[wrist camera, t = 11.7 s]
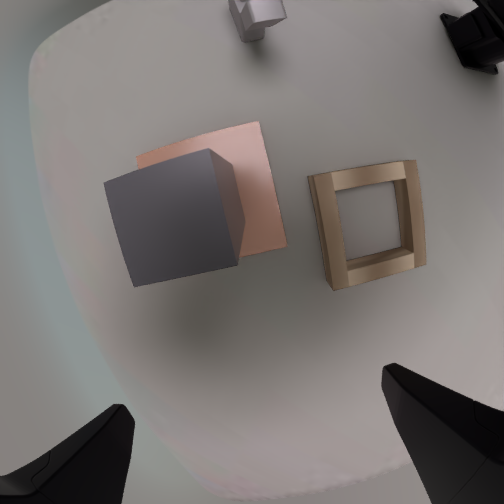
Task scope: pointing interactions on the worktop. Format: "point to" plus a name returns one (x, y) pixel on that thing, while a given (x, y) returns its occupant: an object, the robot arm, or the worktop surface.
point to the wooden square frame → (331, 232)
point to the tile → (239, 180)
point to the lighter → (256, 16)
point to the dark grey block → (177, 217)
